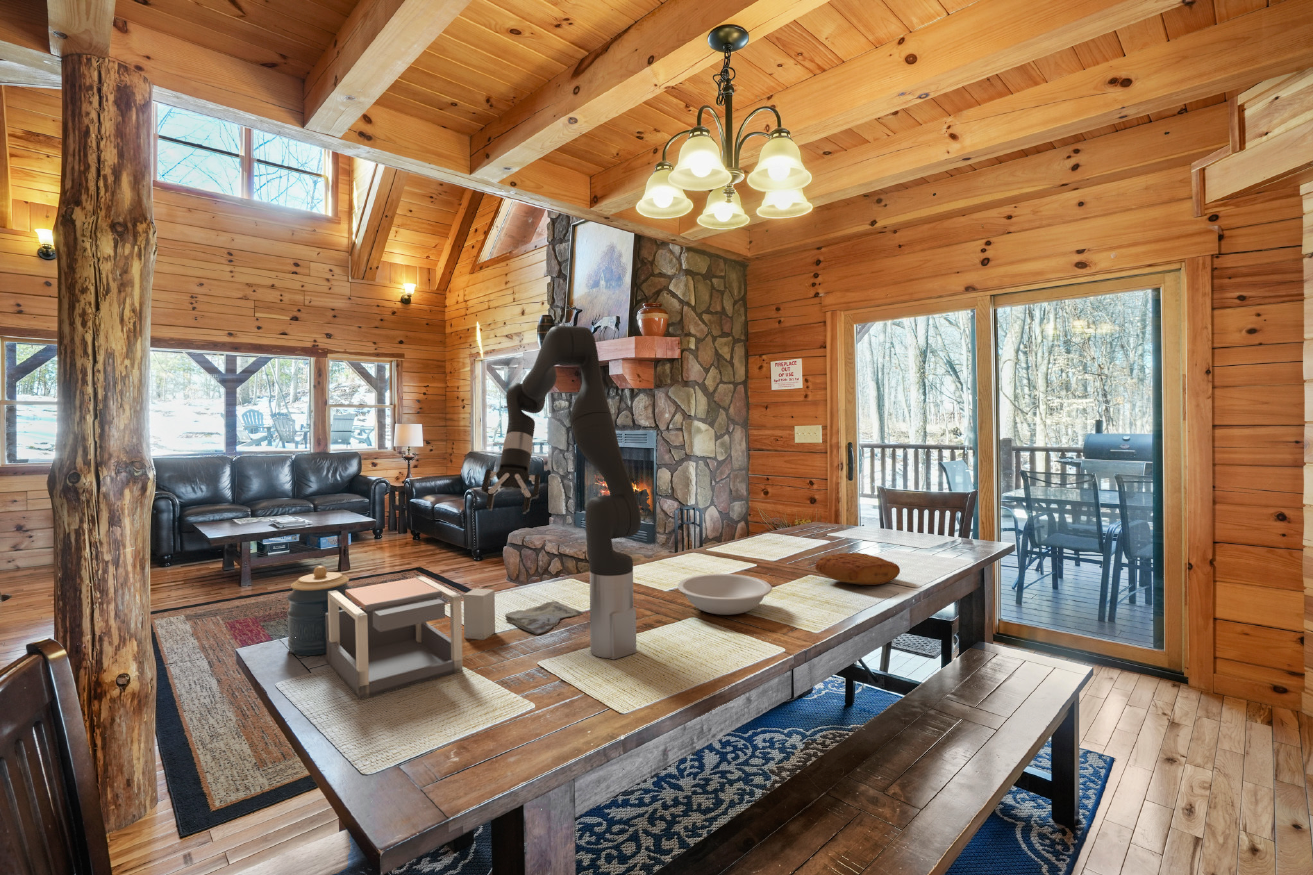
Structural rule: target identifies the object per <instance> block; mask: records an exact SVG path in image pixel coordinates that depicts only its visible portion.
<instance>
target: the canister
mask: <svg viewBox="0 0 1313 875" xmlns="http://www.w3.org/2000/svg"><path fill="white" fill-rule="evenodd" d="M349 581H350V578H349V577H348V576H346V575H343V574H342V573H341V572H337V571H336V572H335V571H328V569H327V568H326V567H325V566H324V565H318V566H316V567H315V568H314V570H313V573H310V574H306V575H303V576H302V575H301V576H299V578H298V579H297V580H295V581H294V582H292V583H291V585H290V588H291V589H292V591H291V592H289V593H287V596H286V600H287V601H288V602H289V608H288V610H287V612H286V615H287V624H288V625H287V626H288V627H287V628H288V629H287V630H288V638H287V647H288V648H289V649H288V651H289V652H290V653H291V654H293V655H297V656H304V657H305V656H317V655H326V620H325V613H328V592H329V591H334V590H337V591H338V592H339V593H341V594H342V595H343V596H345V597H346V598H347V599H348V600H350V601H351V602H352V603H353V604H355V602H354V601H353V600H351V599H350V598H349V597H347V596H346V595H345V590H348V589H354V587H353V586H351V585H350V584H348V582H349ZM340 610H343V609H342V608H341V607H340V606H339V611H340ZM295 637H296V638H295Z"/></svg>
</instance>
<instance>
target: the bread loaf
mask: <svg viewBox="0 0 1313 875" xmlns="http://www.w3.org/2000/svg"><path fill="white" fill-rule="evenodd" d="M814 569H815V570H816V572H818V573H819V574H821V575H824V576H826V577H828V578H830V579H832V580H834V581H838V582H843V583H846V584H853V585H860V586H877V585H883V584H887V583H889V582H892V581H894V580H895V579H896V578H897V577H898V576H899V574H900V572H901V568H900V567H899V565H898V564H896V563H895V562H893V561H889V560H888V559H884V558H882V557H879V556H874V555H871V554H868V553H860V552H841V553H840V552H839V553H834V554H830V555H825V556H822V557H821V558H819V559H818V560H817V561H816V562H815V567H814Z"/></svg>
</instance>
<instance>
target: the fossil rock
mask: <svg viewBox="0 0 1313 875" xmlns="http://www.w3.org/2000/svg"><path fill="white" fill-rule="evenodd" d="M583 614H584V612H583V611H581V610H579V609H576V608H573V607H570V606H568V605H566V604H563V603H560V602H559V601H557V600H553V601H547V602H545V603H542V604H541V605H538V606H533V607H529V608H527V609H524V610H523V609H522V610H521V609H519V610H514V611H511V612H507V613H505V614H504V617H505V620H506V621H507V622H509V623H511V625H515V626H517V627H518V628H519V629H521V630H523V631H526V632H528V633H531V634H534V635H535V636H539V635H542V634H545V633H546V632H548V631H551V629H552V628H554V627H556V626H557V625H558V624H559V623H560V621H561V620H563V619H566V618H574V617H578V616H581V615H583Z"/></svg>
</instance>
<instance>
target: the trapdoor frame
mask: <svg viewBox="0 0 1313 875" xmlns="http://www.w3.org/2000/svg"><path fill="white" fill-rule="evenodd" d="M414 578H417V579H419V580H420V581H422V582H424V583H426V584H428V585H430V586H432V587H434V588H435V589H437V590H439V591H441V592H442V598H445V600H446V599H447V600H449V609H450V610H449V612H450V616H449V618H450V619H449V620H450V637H449V636H447V635H446V634H445V633H444V632H442V631H440V630H439V629H437V628H436V627H434V626H432V625H431V624H429V623H428V622H424V623H419V624H414V625H410V626H405V627H401V628H396V629H392V630H387V631H383V632H379V631H378V630H377V629H375V628H374V627H373V610H372V611H367V612H366V611H365V610H364V609H363V608H362V607H360V606H358V605H357V604H356V603H354V604H353V603H352V602H351V601H350V600H348V599H347V598H346V597H345V596H343V595H342V594H341V593H339V592H338V591H337V590H334V591H329V592H328V613H325V620H326V654H325V657H326V659H325V660H326V662H327V664H328V665H329V666H330V667H331V668H332V669H333V671H334V672H335V673H336V674H337V675H338V676H339V678H340V679H341V680H342V681H343V682H344V684H345V685H346V687H348V688H349V690H350V691H351V692H352V693H353V694H354V695H355V696H356V698H357V699H358V700H360V701H361V700H365V699H368V698H372V697H374V696H379V695H382V694H385V693H391V692H393V691H396V690H401V689H404V688H407V687H411V686H414V685H417V684H422V683H425V682H428V681H432V680H435V679H439V678H443V677H446V676H450V675H454V674H457V673H460V672H463V633H462V632H463V623H462V595H461V594H459V593H457V592H455V591H453V590H451V589H449V588H447V587H446V586H443V585H441V584H440V583H437V582H435V581H433V580H431V579H430V578H428V577H427V576H424V575H418V576H414ZM407 604H408V603H407ZM402 605H403V604H402ZM339 606H340V607H341V608H342V609H343V610H340V611H339ZM397 606H398V605H397ZM392 607H393V606H392ZM387 608H388V607H387ZM382 609H383V608H382Z"/></svg>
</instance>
